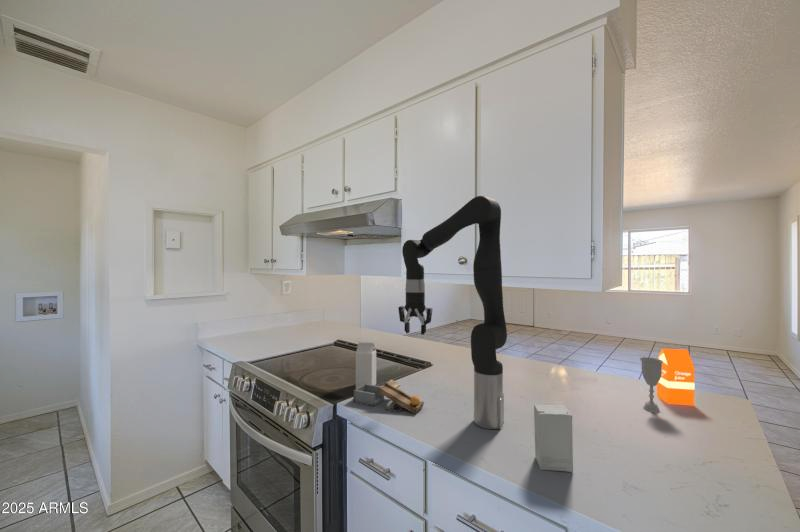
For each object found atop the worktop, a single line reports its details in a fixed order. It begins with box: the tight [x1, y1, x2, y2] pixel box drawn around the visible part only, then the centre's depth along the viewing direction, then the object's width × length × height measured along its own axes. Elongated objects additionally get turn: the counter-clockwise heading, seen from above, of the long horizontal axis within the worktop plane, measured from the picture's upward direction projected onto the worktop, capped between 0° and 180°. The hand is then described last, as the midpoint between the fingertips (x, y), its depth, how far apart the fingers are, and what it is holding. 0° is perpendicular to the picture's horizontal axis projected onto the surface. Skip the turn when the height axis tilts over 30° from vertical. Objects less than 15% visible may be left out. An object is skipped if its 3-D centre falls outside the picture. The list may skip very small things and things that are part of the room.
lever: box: [377, 379, 425, 414], centre depth 125 cm, size 17×12×2 cm
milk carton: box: [355, 341, 377, 389], centre depth 143 cm, size 7×7×19 cm
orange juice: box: [656, 348, 695, 407], centre depth 129 cm, size 8×9×20 cm
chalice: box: [639, 356, 663, 414], centre depth 120 cm, size 7×7×18 cm
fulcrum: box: [384, 401, 404, 413], centre depth 123 cm, size 5×9×3 cm, turn 154°
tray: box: [352, 384, 385, 407], centre depth 128 cm, size 9×8×4 cm
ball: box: [410, 395, 421, 406], centre depth 120 cm, size 4×4×4 cm
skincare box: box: [533, 404, 574, 473], centre depth 87 cm, size 8×6×15 cm
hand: (415, 333), depth 131 cm, fingers open, 6 cm apart
